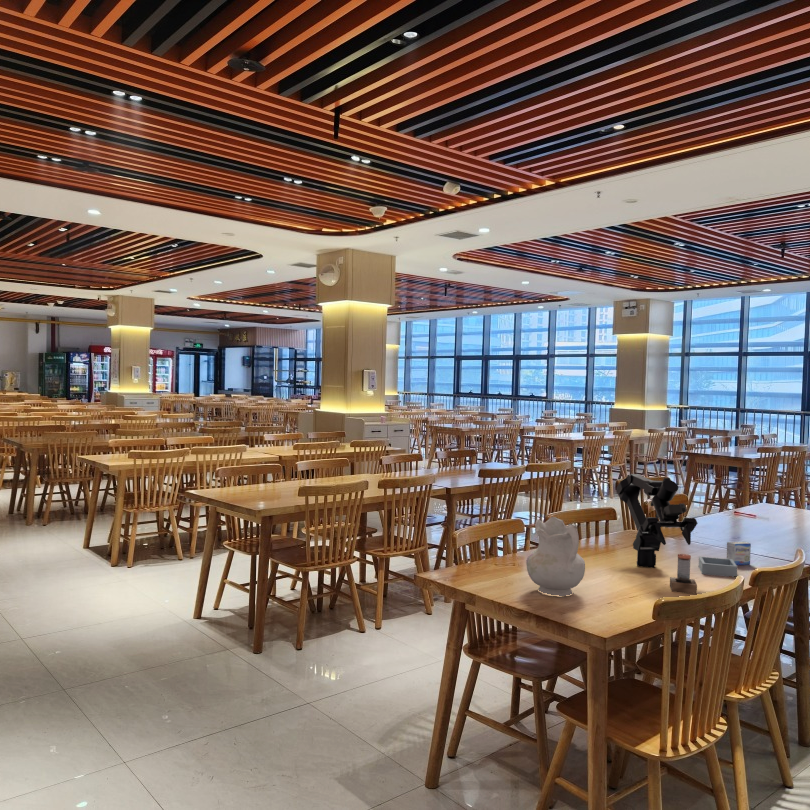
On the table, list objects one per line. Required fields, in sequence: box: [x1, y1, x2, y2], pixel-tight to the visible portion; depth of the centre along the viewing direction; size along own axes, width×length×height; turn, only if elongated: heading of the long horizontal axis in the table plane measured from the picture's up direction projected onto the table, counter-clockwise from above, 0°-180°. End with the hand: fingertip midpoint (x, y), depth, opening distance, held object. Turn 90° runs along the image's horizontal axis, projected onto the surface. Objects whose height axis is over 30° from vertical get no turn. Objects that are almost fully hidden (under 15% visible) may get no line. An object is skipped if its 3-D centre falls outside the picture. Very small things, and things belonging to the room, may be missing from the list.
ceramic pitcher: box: [525, 516, 586, 596], centre depth 234 cm, size 22×20×25 cm
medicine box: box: [726, 541, 752, 566], centre depth 282 cm, size 8×4×9 cm, turn 105°
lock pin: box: [676, 553, 692, 584], centre depth 242 cm, size 4×4×12 cm
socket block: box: [669, 576, 698, 595], centre depth 242 cm, size 8×8×3 cm
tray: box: [697, 555, 738, 578], centre depth 268 cm, size 12×12×4 cm
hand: (677, 544), depth 250 cm, fingers open, 9 cm apart
